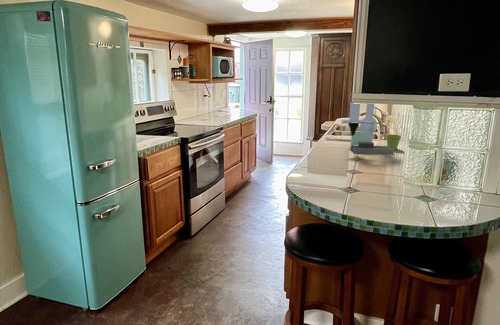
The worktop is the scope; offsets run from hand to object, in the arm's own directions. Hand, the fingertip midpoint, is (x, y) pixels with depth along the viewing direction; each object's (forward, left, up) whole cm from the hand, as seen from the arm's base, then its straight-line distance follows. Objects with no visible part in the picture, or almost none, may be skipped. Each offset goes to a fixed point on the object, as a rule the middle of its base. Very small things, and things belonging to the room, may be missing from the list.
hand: (352, 135), depth 210 cm
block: (0, +9, -10) cm, 14 cm away
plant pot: (-11, +30, -10) cm, 34 cm away
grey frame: (-1, +13, -10) cm, 16 cm away
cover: (-5, +7, -3) cm, 9 cm away
